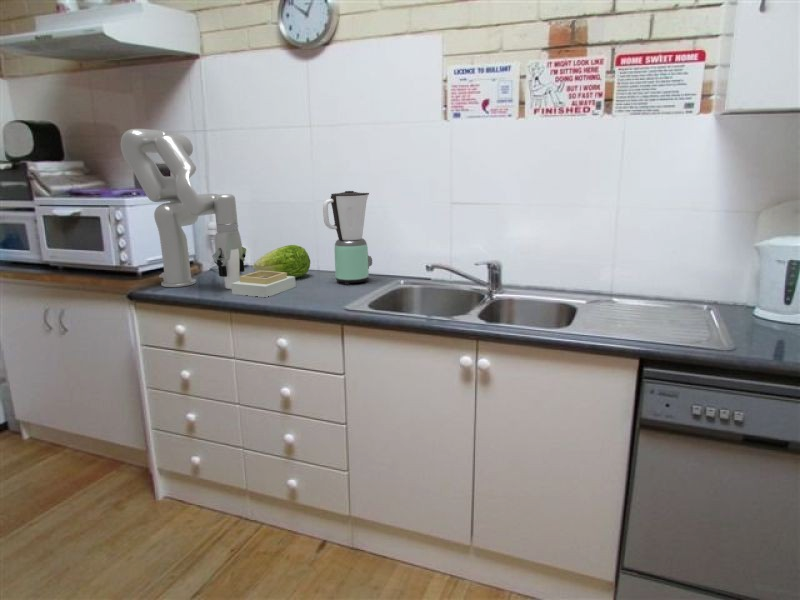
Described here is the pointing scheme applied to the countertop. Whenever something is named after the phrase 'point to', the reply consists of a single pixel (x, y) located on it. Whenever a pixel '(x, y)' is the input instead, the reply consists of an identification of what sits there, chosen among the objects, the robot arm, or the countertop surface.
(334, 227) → the green blender
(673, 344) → the countertop surface
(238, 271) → the drinking glass
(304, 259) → the lettuce
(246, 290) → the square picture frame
